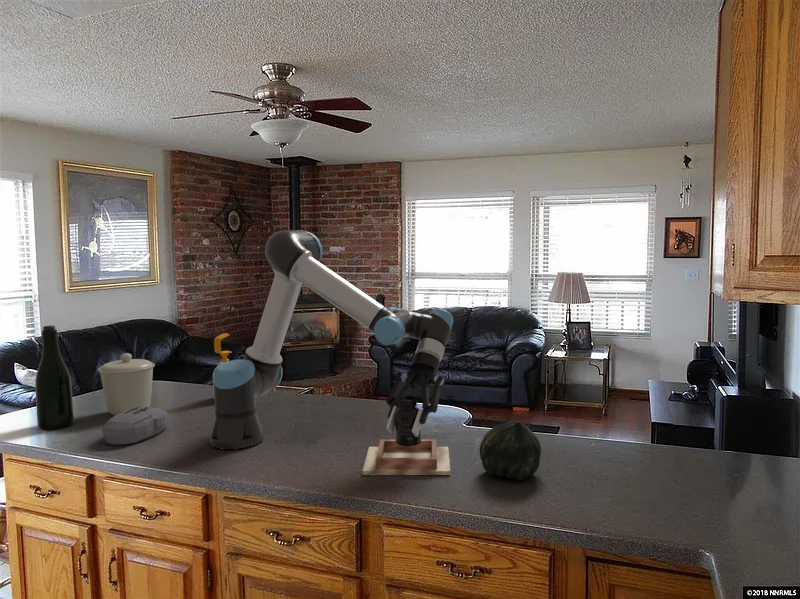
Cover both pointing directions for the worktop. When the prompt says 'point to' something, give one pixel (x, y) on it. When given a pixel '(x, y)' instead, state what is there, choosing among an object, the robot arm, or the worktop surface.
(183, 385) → the worktop surface
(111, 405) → the canister
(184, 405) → the worktop surface
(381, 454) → the pocket board
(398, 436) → the supplement bottle
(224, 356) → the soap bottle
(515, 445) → the squash
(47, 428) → the wine bottle
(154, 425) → the soft grey pack
